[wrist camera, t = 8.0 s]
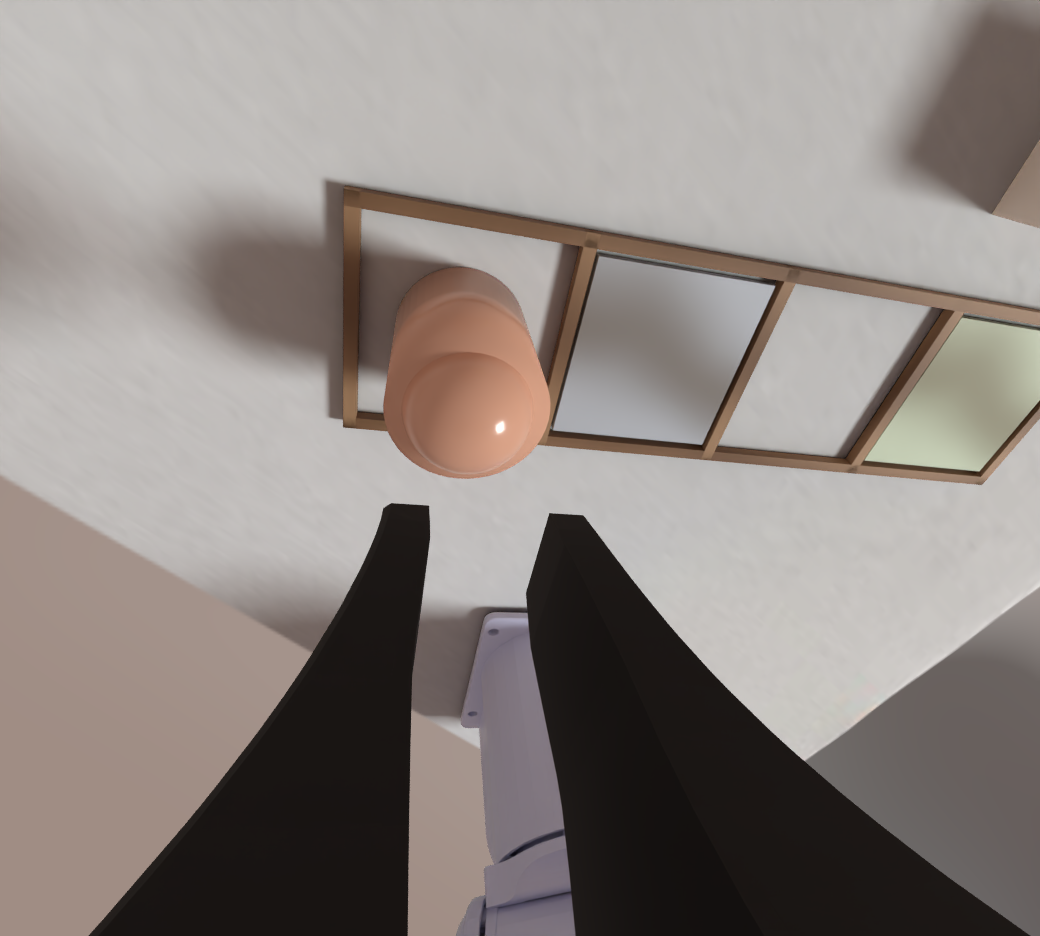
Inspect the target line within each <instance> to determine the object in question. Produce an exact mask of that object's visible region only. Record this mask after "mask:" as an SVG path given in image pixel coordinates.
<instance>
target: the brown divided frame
mask: <svg viewBox="0 0 1040 936" xmlns="http://www.w3.org/2000/svg"><path fill="white" fill-rule="evenodd" d="M361 209H367V210H373V211H379V212H384V213H390V214H396V215H402V216H408V217H413V218H419V219H425V220H431V221H437V222H442V223H448V224H454V225H460V226H466V227H471V228H477V229H483V230H489V231H495V232H500V233H506V234H512V235H518V236H524V237H529V238H535V239H541V240H547V241H553V242H558V243H564V244H570V245H576V246H580V248H579V252H578V256H577V260H576V264H575V268H574V272H573V276H572V281H571V285H570V289H569V293H568V297H567V301H566V305H565V309H564V313H563V317H562V322H561V326H560V330H559V334H558V338H557V342H556V346H555V350H554V354H553V358H552V363H551V367H550V371H549V375H548V379H547V387H548V390H549V395H550V416H549V421H548V424H547V427H546V430H545V432H544V434H543V436H542V438H541V440H540V441H539V443H538V444H537V445H545V446H556V447H567V448H578V449H589V450H600V451H612V452H623V453H634V454H645V455H656V456H667V457H678V458H689V459H700V460H711V461H722V462H734V463H745V464H756V465H767V466H778V467H789V468H800V469H811V470H822V471H833V472H844V473H856V474H867V475H878V476H889V477H900V478H911V479H922V480H933V481H944V482H955V483H967V484H978V485H982V484H983V483H984V482H985V481H986V480H987V479H988V477H989V476H990V475H991V474H992V473H993V472H994V471H995V469H996V468H997V467H998V466H999V465H1000V464H1001V462H1002V461H1003V460H1004V459H1005V458H1006V457H1007V456H1008V454H1009V453H1010V452H1011V451H1012V450H1013V449H1014V447H1015V446H1016V445H1017V444H1018V443H1019V442H1020V441H1021V439H1022V438H1023V437H1024V436H1025V435H1026V434H1027V432H1028V431H1029V430H1030V429H1031V428H1032V427H1033V426H1034V424H1035V423H1036V422H1037V421H1038V420H1039V419H1040V329H1038V328H1032V327H1027V326H1021V325H1015V324H1009V323H1003V322H997V321H991V320H986V319H980V318H974V317H968V316H963V314H964V313H970V314H976V315H982V316H988V317H994V318H999V319H1005V320H1011V321H1017V322H1023V323H1028V324H1034V325H1040V310H1035V309H1030V308H1024V307H1018V306H1013V305H1007V304H1002V303H996V302H991V301H985V300H979V299H974V298H968V297H963V296H957V295H952V294H946V293H941V292H935V291H929V290H924V289H918V288H913V287H907V286H902V285H896V284H891V283H885V282H879V281H874V280H868V279H863V278H857V277H852V276H846V275H840V274H835V273H829V272H824V271H818V270H813V269H807V268H802V267H796V266H790V265H785V264H779V263H774V262H768V261H763V260H757V259H752V258H746V257H740V256H735V255H729V254H724V253H718V252H713V251H707V250H702V249H696V248H690V247H685V246H679V245H674V244H668V243H663V242H657V241H651V240H646V239H640V238H635V237H629V236H624V235H618V234H613V233H607V232H601V231H596V230H590V229H585V228H579V227H574V226H568V225H563V224H557V223H551V222H546V221H540V220H535V219H529V218H524V217H518V216H513V215H507V214H501V213H496V212H490V211H485V210H479V209H474V208H468V207H462V206H457V205H451V204H446V203H440V202H435V201H429V200H424V199H418V198H412V197H407V196H401V195H396V194H390V193H385V192H379V191H374V190H368V189H362V188H357V187H351V186H345V187H344V277H343V427H345V428H356V429H367V430H379V431H388V430H387V427H386V424H385V419H384V414H375V413H364V412H357V405H358V354H359V303H360V252H361ZM597 249H599V250H605V251H611V252H617V253H622V254H628V255H634V256H640V257H646V258H651V259H657V260H663V261H669V262H675V263H680V264H686V265H692V266H698V267H704V268H709V269H715V270H721V271H727V272H733V273H738V274H744V275H750V276H756V277H762V278H767V279H773V280H777V281H776V283H775V285H773V284H772V283H769V282H763V281H757V280H751V279H745V278H740V277H734V276H728V275H722V274H716V273H710V272H704V271H699V270H693V269H687V268H681V267H675V266H669V265H663V264H658V263H652V262H646V261H640V260H634V259H628V258H622V257H617V256H611V255H605V254H599V253H597V254H596V251H597ZM595 255H596V258H595ZM594 259H595V262H594ZM593 263H594V266H593ZM592 266H593V270H592ZM591 270H592V273H591ZM590 274H591V277H590ZM589 278H590V281H589ZM588 282H589V285H588ZM795 284H802V285H808V286H814V287H820V288H825V289H831V290H837V291H843V292H849V293H854V294H860V295H866V296H872V297H878V298H883V299H889V300H895V301H901V302H907V303H912V304H918V305H924V306H930V307H936V308H941V309H944V310H943V312H942V313H941V315H940V316H939V318H938V319H937V321H936V322H935V324H934V325H933V327H932V329H931V330H930V332H929V333H928V335H927V336H926V338H925V339H924V341H923V342H922V344H921V345H920V347H919V348H918V350H917V351H916V353H915V354H914V356H913V357H912V359H911V360H910V362H909V363H908V365H907V366H906V368H905V369H904V371H903V372H902V374H901V376H900V377H899V379H898V380H897V382H896V383H895V385H894V386H893V388H892V389H891V391H890V392H889V394H888V395H887V397H886V398H885V400H884V401H883V403H882V404H881V406H880V407H879V409H878V410H877V412H876V413H875V415H874V416H873V418H872V420H871V421H870V423H869V424H868V426H867V427H866V429H865V430H864V432H863V433H862V435H861V436H860V438H859V439H858V441H857V442H856V444H855V445H854V447H853V448H852V450H851V451H850V453H849V454H848V456H847V457H846V459H842V458H831V457H821V456H811V455H800V454H790V453H779V452H769V451H759V450H748V449H738V448H728V447H717V445H718V443H719V441H720V439H721V437H722V435H723V433H724V431H725V429H726V427H727V425H728V423H729V420H730V418H731V416H732V414H733V412H734V410H735V408H736V406H737V404H738V402H739V400H740V398H741V396H742V394H743V392H744V389H745V387H746V385H747V383H748V381H749V379H750V377H751V375H752V373H753V371H754V369H755V367H756V365H757V363H758V360H759V358H760V356H761V354H762V352H763V350H764V348H765V346H766V344H767V342H768V340H769V338H770V336H771V334H772V332H773V329H774V327H775V325H776V323H777V321H778V319H779V317H780V315H781V313H782V311H783V309H784V307H785V305H786V303H787V300H788V298H789V296H790V294H791V292H792V290H793V288H794V286H795ZM587 286H588V289H587ZM586 289H587V292H586ZM585 293H586V296H585ZM584 297H585V300H584ZM583 301H584V304H583ZM582 305H583V308H582ZM581 308H582V311H581ZM580 312H581V315H580ZM579 316H580V319H579ZM578 320H579V323H578ZM577 324H578V327H577ZM576 327H577V330H576ZM575 331H576V334H575ZM574 335H575V338H574ZM573 339H574V342H573ZM572 343H573V346H572ZM571 347H572V349H571ZM570 350H571V353H570ZM569 354H570V357H569ZM568 358H569V361H568ZM567 362H568V365H567ZM566 366H567V368H566ZM565 369H566V372H565ZM564 373H565V376H564ZM563 377H564V380H563ZM562 381H563V384H562ZM561 385H562V387H561ZM560 388H561V391H560ZM559 392H560V395H559ZM558 396H559V399H558ZM557 400H558V403H557ZM556 404H557V406H556ZM555 407H556V410H555ZM554 411H555V414H554ZM553 415H554V418H553ZM552 419H553V422H552ZM551 423H552V425H551ZM551 426H552V429H553V430H555V431H551V430H550V427H551ZM562 431H565V432H562ZM572 432H576V433H572ZM582 433H586V434H582ZM593 434H596V435H593ZM603 435H607V436H603ZM613 436H617V437H613ZM624 437H627V438H624ZM634 438H638V439H634ZM645 439H648V440H645ZM655 440H659V441H655ZM665 441H669V442H665ZM676 442H679V443H676ZM686 443H690V444H686ZM696 444H700V445H696ZM863 460H866V461H863ZM873 461H876V462H873ZM883 462H886V463H883ZM894 463H897V464H894ZM904 464H907V465H904ZM914 465H917V466H914ZM925 466H928V467H925ZM935 467H938V468H935ZM945 468H949V469H945ZM956 469H959V470H956ZM966 470H969V471H966Z"/></svg>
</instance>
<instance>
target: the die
mask: <svg viewBox="0 0 1040 936" xmlns="http://www.w3.org/2000/svg"><path fill="white" fill-rule="evenodd" d="M992 215H996V216H999V217H1003V218H1006V219H1010V220H1013V221H1017V222H1020V223H1023V224H1027V225H1030V226H1034V227H1037V228H1040V140H1039V141H1038V143H1037V144H1036V146H1035V147H1034V149H1033V151H1032V152H1031V154H1030V155H1029V157H1028V158H1027V160H1026V161H1025V163H1024V165H1023V166H1022V168H1021V169H1020V171H1019V172H1018V174H1017V175H1016V177H1015V179H1014V180H1013V182H1012V183H1011V185H1010V186H1009V188H1008V189H1007V191H1006V193H1005V194H1004V196H1003V197H1002V199H1001V200H1000V202H999V203H998V205H997V207H996V208H995V210H994V211H993V213H992Z"/></svg>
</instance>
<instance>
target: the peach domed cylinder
mask: <svg viewBox="0 0 1040 936" xmlns="http://www.w3.org/2000/svg"><path fill="white" fill-rule="evenodd" d="M383 408H384V419H385V424H386V427H387V430H388V433H389V435H390V437H391V438H392V440H393V442H394V443H395V445H396V446H397V448H398V449H399V450H400V451H401V452H402V453H403V454H404V455H405V456H406V457H407V458H408V459H409V460H411V461H412V462H413V463H415V464H416V465H418V466H420V467H421V468H423V469H425V470H427V471H429V472H432V473H435V474H438V475H442V476H446V477H452V478H465V479H469V478H480V477H485V476H490V475H493V474H496V473H499V472H502V471H504V470H506V469H508V468H510V467H512V466H514V465H515V464H517V463H518V462H520V461H521V460H523V459H524V458H525V457H526V456H527V455H528V454H529V453H530V452H531V451H532V450H533V449H534V448H535V447H536V446H537V444H538V443H539V441H540V440H541V438H542V436H543V434H544V432H545V430H546V427H547V424H548V421H549V416H550V395H549V390H548V387H547V383H546V381H545V378H544V375H543V372H542V369H541V366H540V363H539V360H538V357H537V354H536V351H535V348H534V345H533V342H532V339H531V336H530V333H529V330H528V327H527V324H526V322H525V319H524V316H523V313H522V310H521V307H520V305H519V303H518V301H517V299H516V298H515V296H514V294H513V293H512V292H511V291H510V290H509V288H508V287H507V286H505V285H504V284H503V283H502V282H501V281H500V280H498V279H497V278H495V277H494V276H492V275H490V274H488V273H486V272H483V271H480V270H477V269H472V268H464V267H453V268H446V269H442V270H439V271H435V272H433V273H431V274H429V275H427V276H425V277H423V278H422V279H420V280H419V281H418V282H417V283H416V284H414V285H413V286H412V287H411V288H410V290H409V291H408V292H407V293H406V295H405V296H404V298H403V300H402V301H401V304H400V306H399V308H398V312H397V315H396V322H395V328H394V335H393V342H392V349H391V356H390V362H389V369H388V376H387V383H386V389H385V396H384V404H383Z"/></svg>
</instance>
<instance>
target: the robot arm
mask: <svg viewBox="0 0 1040 936" xmlns="http://www.w3.org/2000/svg"><path fill="white" fill-rule="evenodd" d="M429 542H430V517H429V506H425V505H410V504H394V503H391V504H389V505H388V506H386V507H385V508H383V513H382V517H381V521H380V524H379V527H378V530H377V533H376V535H375V538H374V540H373V543H372V545H371V547H370V550H369V552H368V554H367V556H366V558H365V561H364V563H363V565H362V567H361V569H360V571H359V573H358V575H357V577H356V579H355V580H354V582H353V584H352V586H351V588H350V590H349V592H348V594H347V596H346V598H345V599H344V601H343V603H342V605H341V607H340V609H339V610H338V612H337V614H336V616H335V617H334V619H333V620H332V622H331V624H330V625H329V627H328V629H327V630H326V632H325V633H324V635H323V637H322V638H321V640H320V642H319V643H318V645H317V646H316V648H315V650H314V651H313V653H312V655H311V656H310V658H309V659H308V661H307V663H306V664H305V666H304V667H303V669H302V670H301V672H300V673H299V675H298V676H297V678H296V679H295V681H294V682H293V684H292V685H291V686H290V688H289V689H288V691H287V692H286V694H285V695H284V697H283V698H282V699H281V701H280V702H279V704H278V705H277V707H276V708H275V709H274V711H273V712H272V713H271V715H270V716H269V718H268V719H267V720H266V722H265V723H264V725H263V726H262V727H261V729H260V730H259V732H258V733H257V734H256V735H255V737H254V738H253V739H252V741H251V742H250V743H249V745H248V746H247V747H246V748H245V750H244V751H243V752H242V754H241V755H240V756H239V757H238V759H237V760H236V761H235V763H234V764H233V765H232V767H231V768H230V769H229V771H228V772H227V773H226V774H225V776H224V777H223V778H222V779H221V781H220V782H219V783H218V785H217V786H216V787H215V789H214V790H213V791H212V792H211V793H210V795H209V796H208V797H207V798H206V800H205V801H204V802H203V803H202V805H201V806H200V807H199V808H198V810H197V811H196V812H195V813H194V814H193V816H192V817H191V818H190V819H189V820H188V822H187V823H186V824H185V825H184V826H183V828H182V829H181V830H180V831H179V832H178V833H177V835H176V836H175V837H174V838H173V839H172V840H171V842H170V843H169V844H168V845H167V846H166V847H165V848H164V850H163V851H162V852H161V853H160V854H159V855H158V857H157V858H156V859H155V860H154V861H153V862H152V864H151V865H150V866H149V867H148V868H147V869H146V870H145V872H144V873H143V874H142V875H141V876H140V878H139V879H138V880H137V881H136V882H135V883H134V884H133V886H132V887H131V888H130V889H129V890H128V891H127V893H126V894H125V895H124V896H123V897H122V898H121V900H120V901H119V902H118V903H117V904H116V905H115V906H114V908H113V909H112V910H111V911H110V912H109V913H108V915H107V916H106V917H105V918H104V919H103V920H102V921H101V923H100V924H99V925H98V926H97V927H96V928H95V929H94V930H93V931H92V933H91V934H90V935H89V936H407V935H408V934H407V933H408V932H407V931H408V855H409V853H408V851H409V791H410V737H411V695H412V672H413V665H414V658H415V650H416V643H417V635H418V627H419V620H420V612H421V604H422V596H423V589H424V581H425V573H426V565H427V558H428V550H429ZM526 598H527V612H528V613H512V612H493V613H490V614H488V615H487V616H485V618H484V621H483V625H482V629H481V634H480V638H479V642H478V646H477V651H476V655H475V659H474V663H473V668H472V672H471V676H470V680H469V685H468V689H467V693H466V697H465V701H464V706H463V710H462V714H461V725H462V726H463V727H465V728H479V733H480V749H481V764H482V779H483V795H484V810H485V825H486V838H487V843H488V848H489V852H490V855H491V858H492V860H493V863H494V865H490V866H487V867H485V868H484V878H485V895H484V896H479V897H476V898H474V899H473V900H472V901H471V903H470V904H469V906H468V908H467V911H466V914H465V916H464V918H463V919H462V921H461V923H460V925H459V927H458V930H457V934H456V936H1030V935H1028V934H1027V933H1025V932H1024V931H1023V930H1021V929H1020V928H1018V927H1017V926H1016V925H1014V924H1013V923H1012V922H1010V921H1009V920H1007V919H1006V918H1005V917H1003V916H1002V915H1000V914H999V913H998V912H996V911H995V910H993V909H992V908H991V907H989V906H988V905H986V904H985V903H983V902H982V901H981V900H979V899H978V898H976V897H975V896H973V895H972V894H971V893H969V892H968V891H967V890H965V889H964V888H962V887H961V886H959V885H958V884H957V883H955V882H954V881H953V880H951V879H950V878H948V877H947V876H946V875H944V874H943V873H942V872H940V871H939V870H938V869H936V868H935V867H934V866H932V865H931V864H930V863H929V862H927V861H926V860H925V859H924V858H922V857H921V856H920V855H918V854H917V853H916V852H914V851H913V850H912V849H911V848H909V847H908V846H907V845H905V844H904V843H903V842H901V841H900V840H899V839H898V838H896V837H895V836H894V835H893V834H891V833H890V832H889V831H887V830H886V829H885V828H884V827H882V826H881V825H880V824H878V823H877V822H876V821H875V820H873V819H872V818H871V817H870V816H869V815H867V814H866V813H865V812H864V811H862V810H861V809H860V808H859V807H858V806H856V805H855V804H854V803H853V802H851V801H850V800H849V799H848V798H846V797H845V796H844V795H843V794H842V793H840V792H839V791H838V790H837V789H836V788H835V787H833V786H832V785H831V784H830V783H829V782H828V781H827V780H825V779H824V778H823V777H822V776H821V775H820V774H818V773H817V772H816V771H815V770H814V769H813V768H812V767H810V766H809V765H808V764H807V763H806V762H805V761H804V760H802V759H801V758H800V757H799V756H798V755H797V754H795V753H794V752H793V751H792V750H791V749H790V748H789V747H788V746H787V745H785V744H784V743H783V742H782V741H781V740H780V739H779V738H778V737H777V736H776V735H775V734H773V733H772V732H771V731H770V730H769V729H768V728H767V727H766V726H765V725H764V724H763V723H762V722H761V721H760V720H759V719H758V718H757V717H756V716H755V715H754V714H753V713H752V712H751V711H750V710H748V709H747V708H746V707H745V706H744V705H743V704H742V703H741V702H740V701H739V700H738V699H737V698H736V697H735V696H734V695H733V694H732V693H731V692H730V691H729V690H728V689H727V688H726V687H725V686H724V685H723V684H722V683H721V682H720V681H719V680H718V679H717V678H716V677H715V676H714V674H713V673H712V672H711V671H710V670H709V669H708V668H707V667H706V666H705V665H704V664H703V663H702V661H701V660H700V659H699V658H698V657H697V656H696V655H695V654H694V653H693V652H692V650H691V649H690V648H689V647H688V646H687V645H686V644H685V643H684V642H683V640H682V639H681V638H680V637H679V636H678V635H677V634H676V633H675V631H674V630H673V629H672V628H671V627H670V625H669V624H668V623H667V622H666V621H665V620H664V618H663V617H662V616H661V615H660V613H659V612H658V611H657V610H656V609H655V607H654V606H653V605H652V604H651V602H650V601H649V600H648V599H647V598H646V596H645V595H644V594H643V593H642V591H641V590H640V589H639V588H638V586H637V585H636V584H635V583H634V581H633V580H632V579H631V577H630V576H629V575H628V574H627V572H626V571H625V570H624V568H623V567H622V566H621V564H620V563H619V562H618V560H617V559H616V558H615V557H614V555H613V554H612V553H611V551H610V550H609V549H608V547H607V546H606V545H605V543H604V542H603V541H602V539H601V538H600V537H599V535H598V534H597V533H596V531H595V530H594V529H593V527H592V526H591V525H590V524H589V522H588V521H587V520H586V518H585V517H584V516H583V515H568V514H552V513H549V517H548V520H547V523H546V527H545V530H544V534H543V537H542V540H541V544H540V547H539V551H538V554H537V558H536V561H535V564H534V568H533V571H532V575H531V578H530V581H529V585H528V588H527V592H526Z"/></svg>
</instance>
